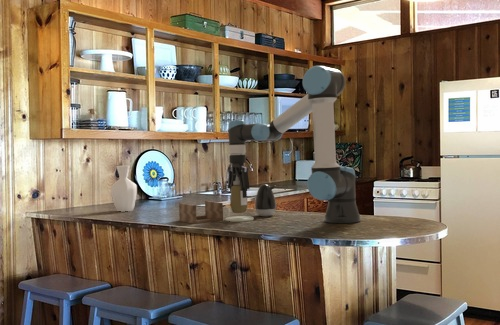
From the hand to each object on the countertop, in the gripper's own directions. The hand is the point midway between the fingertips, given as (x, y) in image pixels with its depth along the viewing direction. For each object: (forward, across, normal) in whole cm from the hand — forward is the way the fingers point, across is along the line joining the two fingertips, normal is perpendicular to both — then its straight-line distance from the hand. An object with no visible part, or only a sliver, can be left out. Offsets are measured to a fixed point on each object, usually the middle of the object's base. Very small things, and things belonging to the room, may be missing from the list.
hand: (239, 204), depth 253 cm
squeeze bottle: (+4, 0, 0) cm, 4 cm away
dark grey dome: (+7, +4, -17) cm, 19 cm away
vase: (+8, +79, +27) cm, 84 cm away
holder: (+7, +11, +14) cm, 19 cm away
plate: (+7, 0, 0) cm, 7 cm away
